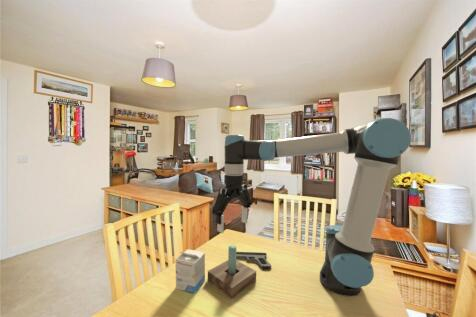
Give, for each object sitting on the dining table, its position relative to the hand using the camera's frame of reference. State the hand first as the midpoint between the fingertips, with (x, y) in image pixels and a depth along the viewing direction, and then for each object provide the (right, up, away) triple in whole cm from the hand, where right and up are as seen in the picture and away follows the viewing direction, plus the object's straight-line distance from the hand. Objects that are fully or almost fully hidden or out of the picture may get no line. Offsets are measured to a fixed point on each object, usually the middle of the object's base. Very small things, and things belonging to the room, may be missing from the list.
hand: (233, 226), depth 82 cm
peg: (-1, -22, +1) cm, 22 cm away
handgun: (+9, -22, +15) cm, 29 cm away
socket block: (-1, -22, +1) cm, 22 cm away
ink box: (-17, -22, -1) cm, 28 cm away
